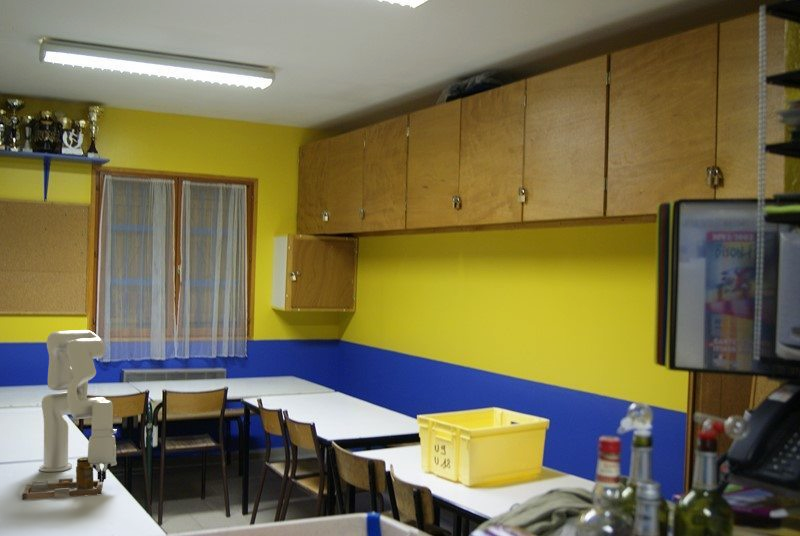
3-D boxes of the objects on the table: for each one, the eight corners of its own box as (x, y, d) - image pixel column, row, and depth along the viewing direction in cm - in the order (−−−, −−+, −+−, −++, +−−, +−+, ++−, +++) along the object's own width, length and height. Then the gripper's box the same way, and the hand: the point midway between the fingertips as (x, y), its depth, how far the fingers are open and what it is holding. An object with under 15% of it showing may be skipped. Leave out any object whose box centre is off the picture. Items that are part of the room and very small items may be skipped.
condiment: (94, 486, 321) (93, 455, 321) (96, 492, 313) (95, 460, 313) (73, 489, 318) (72, 457, 317) (75, 494, 310) (74, 462, 310)
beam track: (27, 489, 317) (27, 478, 317) (102, 484, 325) (103, 474, 325) (21, 500, 302) (21, 489, 302) (100, 495, 310) (101, 484, 310)
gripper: (122, 430, 323) (122, 477, 323) (81, 432, 318) (81, 480, 318) (122, 434, 316) (122, 482, 316) (80, 436, 311) (80, 485, 311)
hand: (101, 481), depth 317 cm, fingers closed
